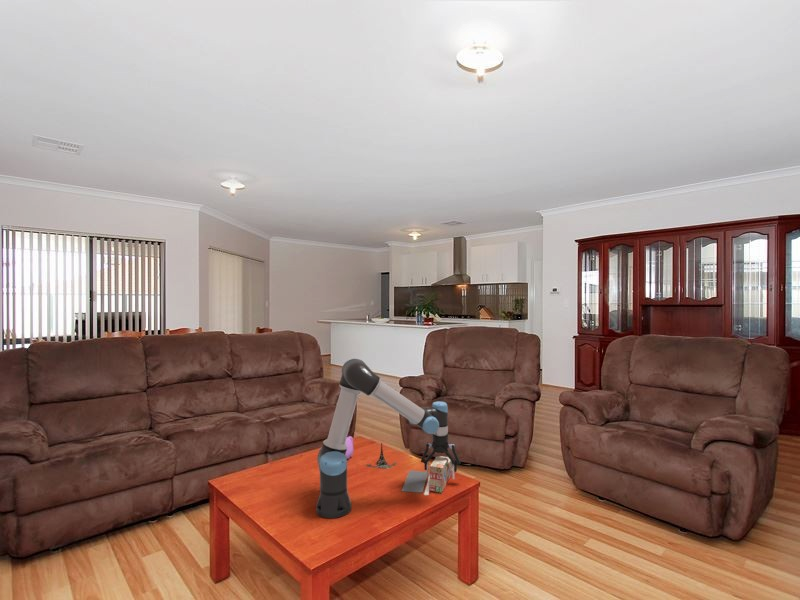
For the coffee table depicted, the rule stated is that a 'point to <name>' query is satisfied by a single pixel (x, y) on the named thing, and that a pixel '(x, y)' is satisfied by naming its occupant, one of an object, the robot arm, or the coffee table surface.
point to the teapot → (349, 447)
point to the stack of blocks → (439, 473)
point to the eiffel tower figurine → (382, 462)
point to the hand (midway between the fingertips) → (440, 477)
